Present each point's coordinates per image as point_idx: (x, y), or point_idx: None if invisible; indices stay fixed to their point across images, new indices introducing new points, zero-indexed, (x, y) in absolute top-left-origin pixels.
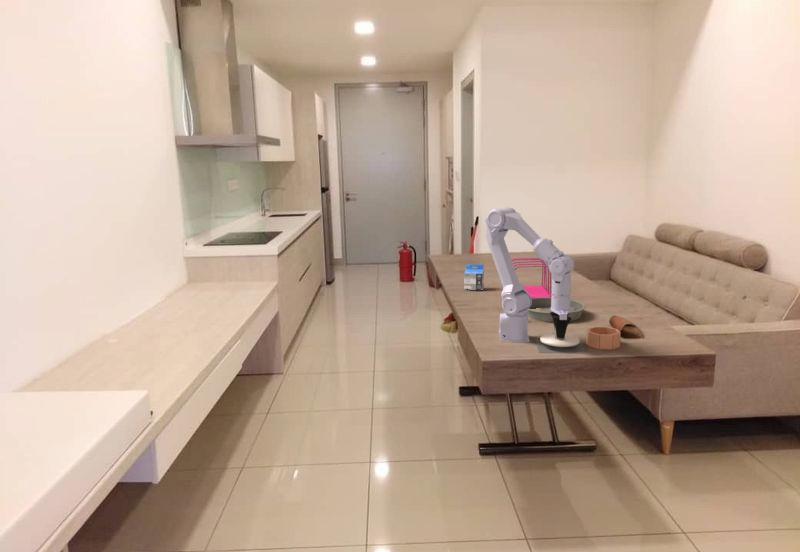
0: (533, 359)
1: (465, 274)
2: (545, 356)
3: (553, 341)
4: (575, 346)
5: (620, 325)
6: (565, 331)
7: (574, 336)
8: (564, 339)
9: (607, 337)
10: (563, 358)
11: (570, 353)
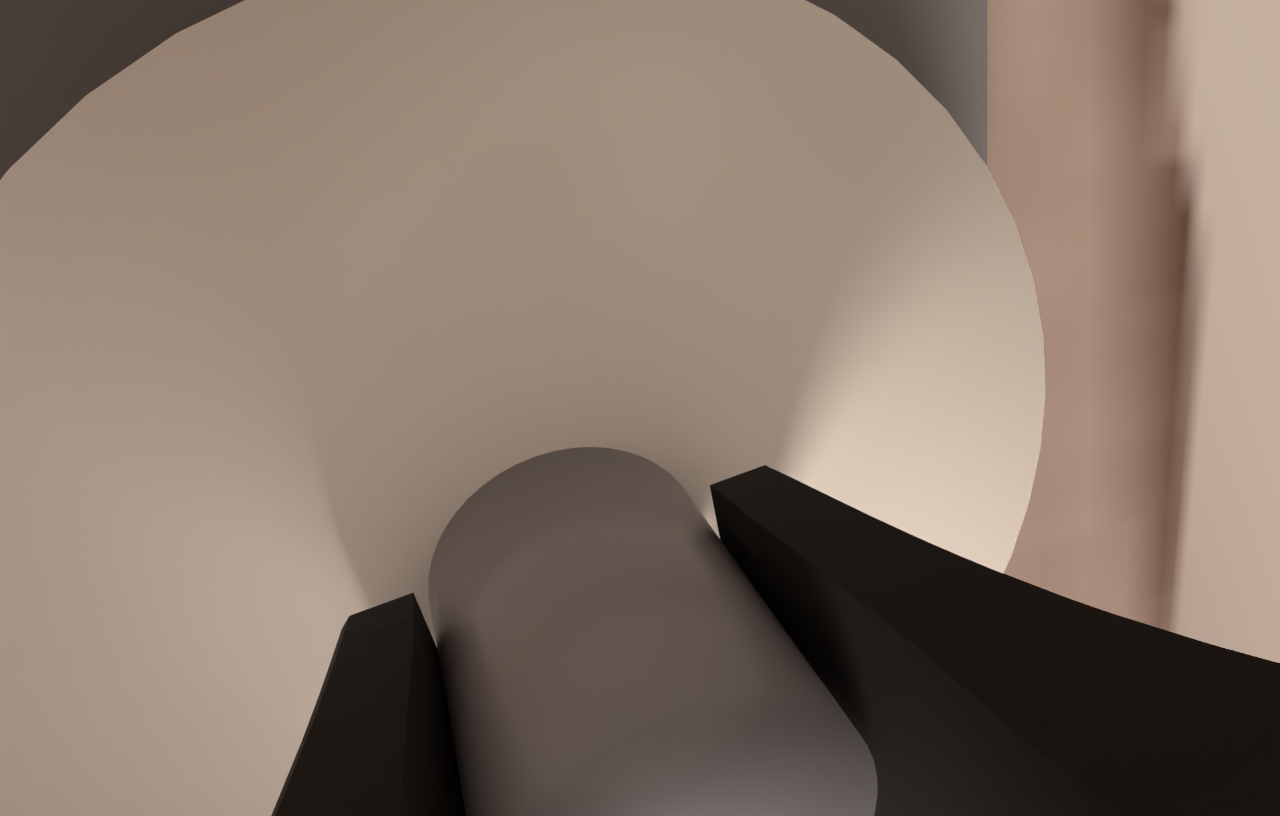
0: (1164, 616)
1: None
2: (1052, 523)
3: None
4: None
5: None
6: (948, 553)
7: (124, 194)
8: (641, 439)
9: None
10: (1144, 240)
11: (984, 144)
